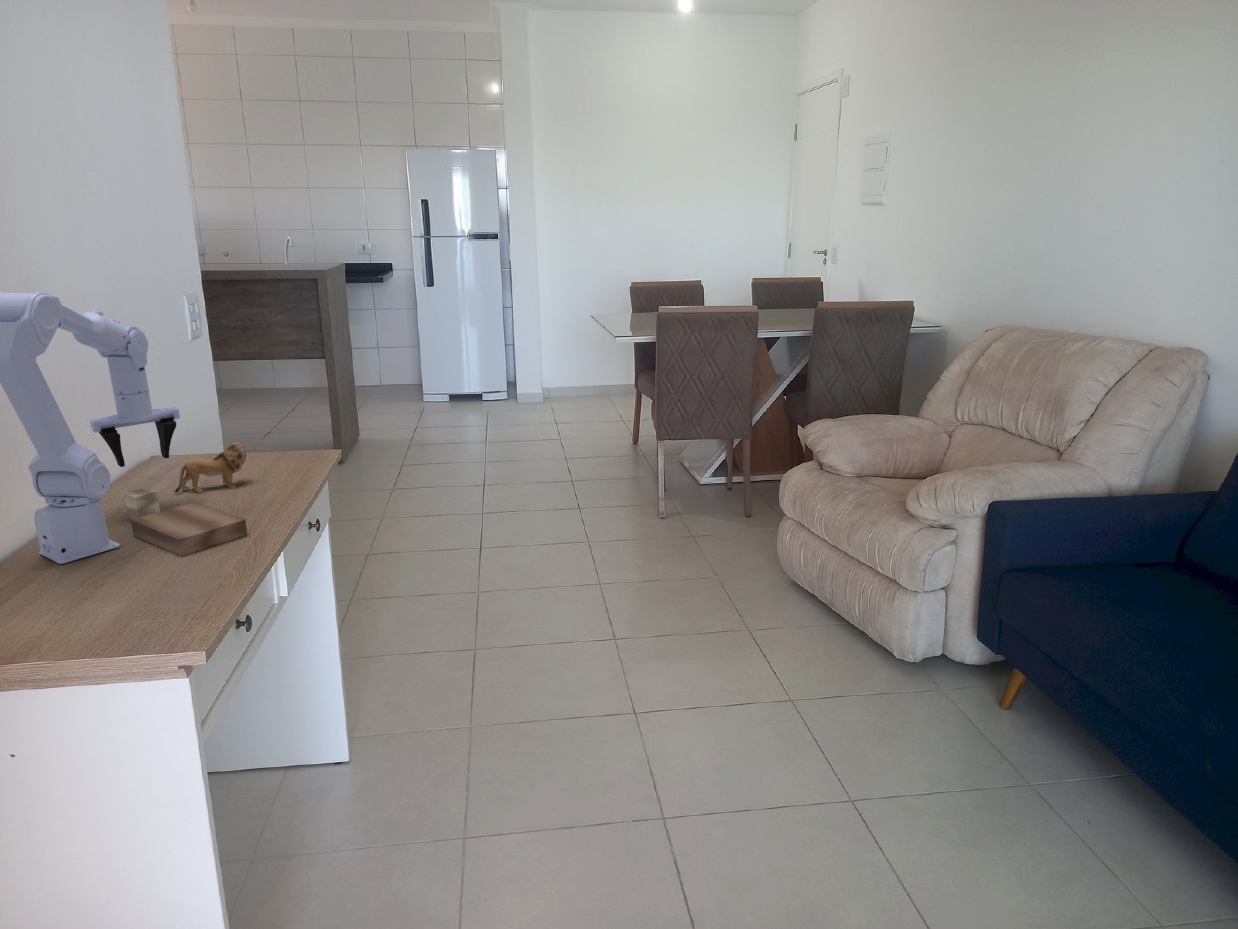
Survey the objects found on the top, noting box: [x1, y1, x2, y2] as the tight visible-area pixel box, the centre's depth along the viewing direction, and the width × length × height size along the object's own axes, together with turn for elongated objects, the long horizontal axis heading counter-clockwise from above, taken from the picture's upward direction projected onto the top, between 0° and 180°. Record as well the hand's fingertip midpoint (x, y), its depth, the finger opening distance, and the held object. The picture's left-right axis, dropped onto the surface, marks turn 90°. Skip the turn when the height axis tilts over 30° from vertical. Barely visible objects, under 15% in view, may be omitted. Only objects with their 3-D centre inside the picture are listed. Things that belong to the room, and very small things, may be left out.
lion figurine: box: [173, 442, 247, 494], centre depth 173 cm, size 15×5×9 cm, turn 130°
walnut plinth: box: [130, 501, 248, 557], centre depth 148 cm, size 12×16×3 cm
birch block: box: [123, 487, 161, 520], centre depth 157 cm, size 4×4×5 cm
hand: (143, 461), depth 158 cm, fingers open, 7 cm apart
